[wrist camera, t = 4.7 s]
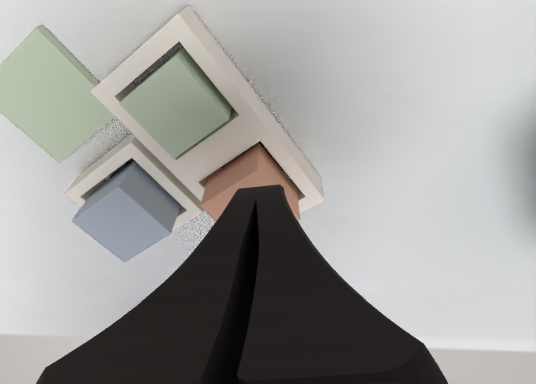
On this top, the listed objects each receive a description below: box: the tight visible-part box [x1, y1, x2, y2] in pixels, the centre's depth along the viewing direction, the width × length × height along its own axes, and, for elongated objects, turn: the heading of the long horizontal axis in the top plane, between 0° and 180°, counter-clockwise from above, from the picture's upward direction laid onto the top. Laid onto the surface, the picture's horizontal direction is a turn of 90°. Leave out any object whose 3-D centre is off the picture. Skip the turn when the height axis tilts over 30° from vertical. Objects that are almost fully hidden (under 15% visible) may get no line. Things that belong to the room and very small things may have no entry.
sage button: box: [119, 46, 232, 159], centre depth 18 cm, size 3×3×3 cm
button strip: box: [90, 6, 325, 214], centre depth 19 cm, size 5×11×2 cm, turn 36°
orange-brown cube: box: [200, 143, 300, 221], centre depth 19 cm, size 3×3×3 cm
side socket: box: [64, 133, 204, 232], centre depth 21 cm, size 5×5×2 cm
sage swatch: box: [0, 25, 115, 163], centre depth 19 cm, size 5×5×1 cm
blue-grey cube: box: [72, 160, 181, 262], centre depth 20 cm, size 3×3×3 cm
